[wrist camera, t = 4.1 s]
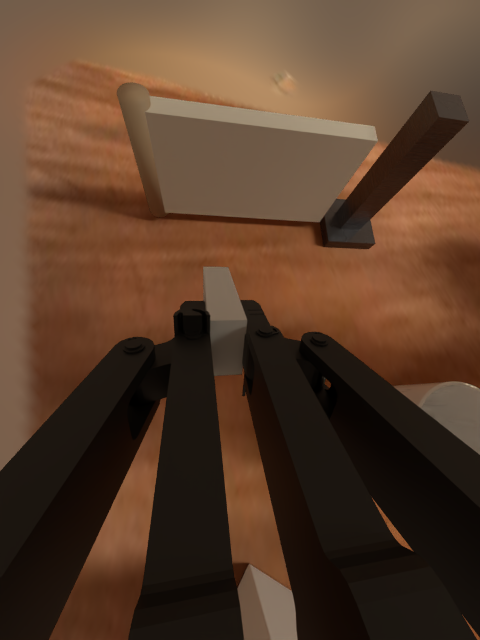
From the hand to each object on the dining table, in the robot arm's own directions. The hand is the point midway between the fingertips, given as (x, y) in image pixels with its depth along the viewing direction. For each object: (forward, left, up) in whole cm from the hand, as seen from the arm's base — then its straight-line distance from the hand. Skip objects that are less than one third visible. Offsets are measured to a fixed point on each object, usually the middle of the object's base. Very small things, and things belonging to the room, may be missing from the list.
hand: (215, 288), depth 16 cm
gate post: (-17, -13, -10) cm, 23 cm away
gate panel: (-3, -13, -9) cm, 16 cm away
